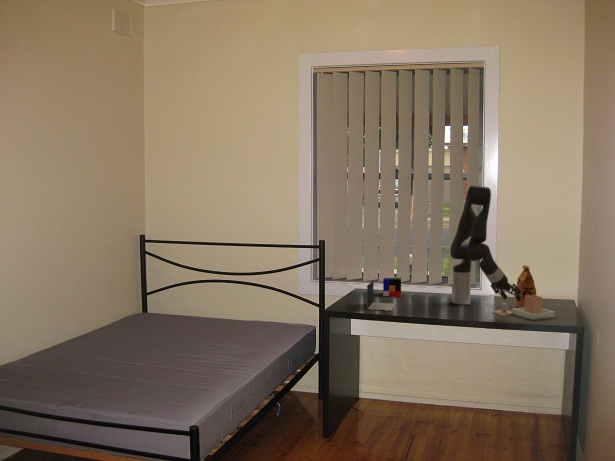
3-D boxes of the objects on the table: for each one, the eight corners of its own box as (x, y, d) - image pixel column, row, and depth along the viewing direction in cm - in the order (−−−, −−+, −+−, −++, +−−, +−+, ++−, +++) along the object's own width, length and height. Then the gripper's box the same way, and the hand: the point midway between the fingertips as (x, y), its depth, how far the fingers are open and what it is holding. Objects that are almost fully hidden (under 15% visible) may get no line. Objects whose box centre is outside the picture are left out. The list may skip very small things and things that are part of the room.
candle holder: (492, 312, 318) (492, 303, 318) (505, 311, 322) (505, 301, 321) (503, 316, 311) (503, 305, 311) (516, 314, 314) (516, 304, 314)
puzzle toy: (383, 296, 364) (383, 279, 364) (384, 293, 374) (384, 276, 373) (400, 297, 363) (400, 279, 362) (401, 294, 373) (401, 277, 372)
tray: (511, 314, 314) (511, 308, 314) (533, 312, 320) (534, 306, 319) (531, 320, 301) (531, 314, 301) (554, 317, 307) (554, 311, 307)
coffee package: (516, 310, 324) (517, 267, 323) (515, 305, 336) (516, 264, 335) (537, 311, 322) (538, 268, 320) (535, 306, 334) (536, 265, 332)
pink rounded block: (524, 313, 312) (524, 295, 311) (535, 312, 315) (536, 294, 314) (532, 316, 307) (532, 297, 306) (543, 314, 309) (544, 296, 309)
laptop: (391, 311, 324) (391, 286, 323) (366, 310, 327) (366, 285, 326) (395, 305, 341) (395, 281, 340) (372, 304, 344) (372, 280, 343)
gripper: (511, 271, 296) (528, 294, 302) (488, 269, 308) (505, 292, 314) (503, 283, 293) (520, 306, 299) (480, 281, 305) (497, 303, 311)
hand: (512, 299), depth 306 cm, fingers open, 8 cm apart
